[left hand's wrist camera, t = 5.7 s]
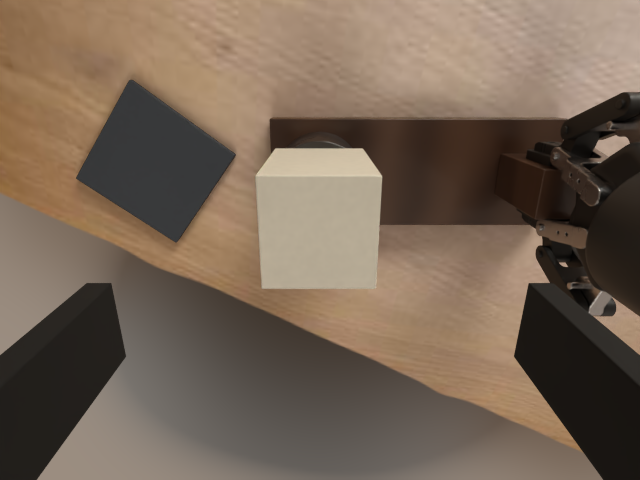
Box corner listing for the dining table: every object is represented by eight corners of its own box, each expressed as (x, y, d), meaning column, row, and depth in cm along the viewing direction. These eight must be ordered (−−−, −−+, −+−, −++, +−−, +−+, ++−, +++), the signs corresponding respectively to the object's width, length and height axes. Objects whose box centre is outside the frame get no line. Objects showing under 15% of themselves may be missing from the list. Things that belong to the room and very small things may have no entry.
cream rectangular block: (277, 231, 29) (261, 289, 21) (274, 148, 27) (254, 175, 19) (360, 231, 29) (376, 289, 21) (363, 148, 27) (382, 175, 19)
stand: (275, 219, 37) (263, 256, 29) (271, 117, 34) (256, 126, 26) (537, 219, 37) (596, 256, 29) (557, 117, 34) (630, 126, 26)
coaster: (79, 177, 36) (75, 178, 35) (132, 79, 33) (129, 79, 32) (178, 240, 38) (176, 243, 37) (236, 154, 35) (234, 155, 34)
